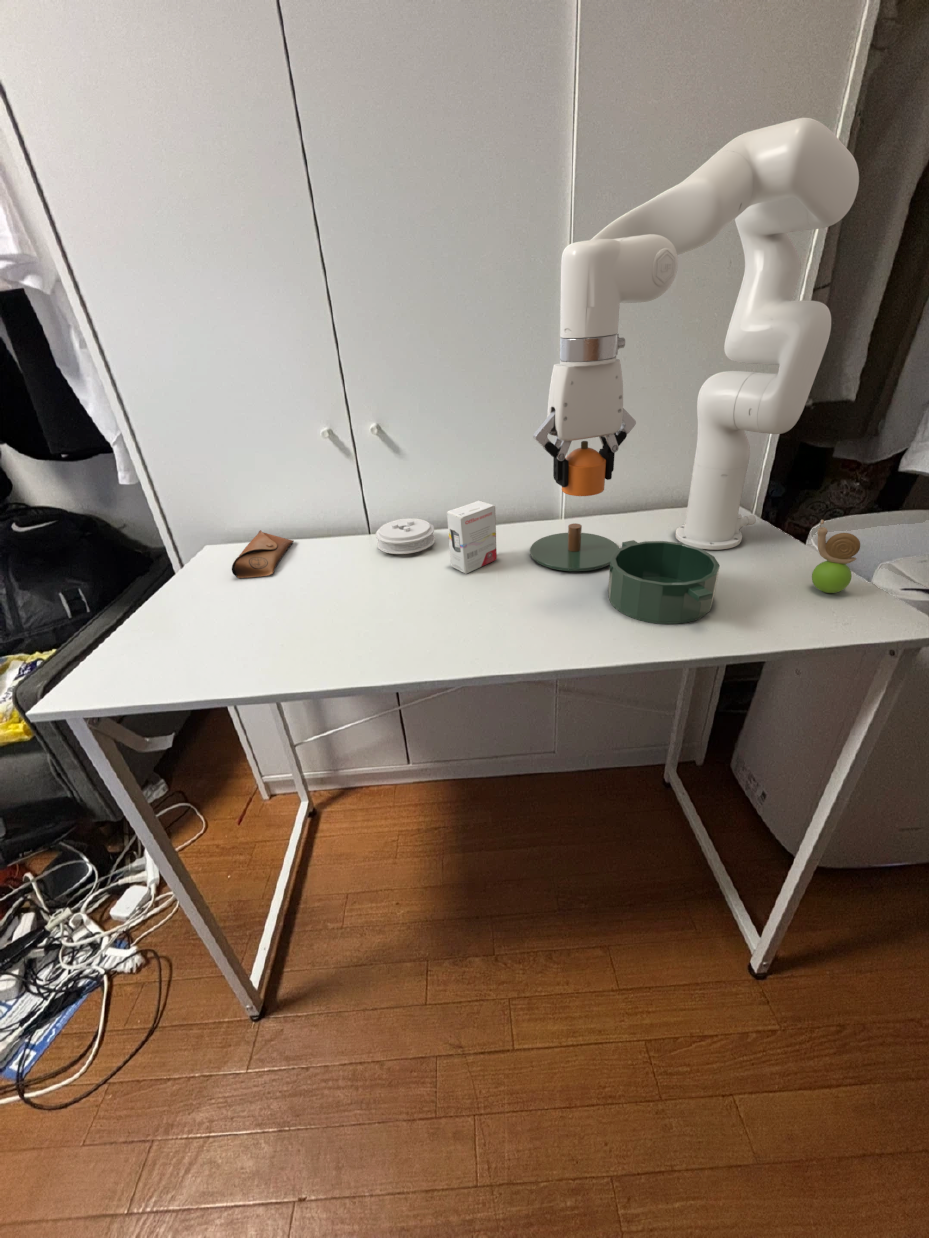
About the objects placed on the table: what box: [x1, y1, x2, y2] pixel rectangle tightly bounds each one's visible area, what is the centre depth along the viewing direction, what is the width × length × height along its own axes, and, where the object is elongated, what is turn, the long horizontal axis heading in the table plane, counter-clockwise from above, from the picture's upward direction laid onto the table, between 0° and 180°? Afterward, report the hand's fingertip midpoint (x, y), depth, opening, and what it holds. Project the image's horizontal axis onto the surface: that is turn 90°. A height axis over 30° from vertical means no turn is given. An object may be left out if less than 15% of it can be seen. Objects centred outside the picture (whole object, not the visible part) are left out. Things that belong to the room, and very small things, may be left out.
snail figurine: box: [811, 519, 861, 594], centre depth 88 cm, size 5×6×12 cm
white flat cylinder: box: [375, 517, 436, 555], centre depth 118 cm, size 13×13×5 cm
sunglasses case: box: [231, 529, 295, 579], centre depth 118 cm, size 18×7×7 cm
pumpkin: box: [561, 440, 606, 497], centre depth 82 cm, size 6×6×7 cm
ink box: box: [446, 500, 498, 575], centre depth 106 cm, size 9×5×12 cm, turn 129°
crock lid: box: [529, 522, 620, 572], centre depth 108 cm, size 18×18×6 cm
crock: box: [607, 539, 721, 625], centre depth 91 cm, size 17×22×7 cm
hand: (583, 480), depth 83 cm, fingers closed on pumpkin, 6 cm apart
